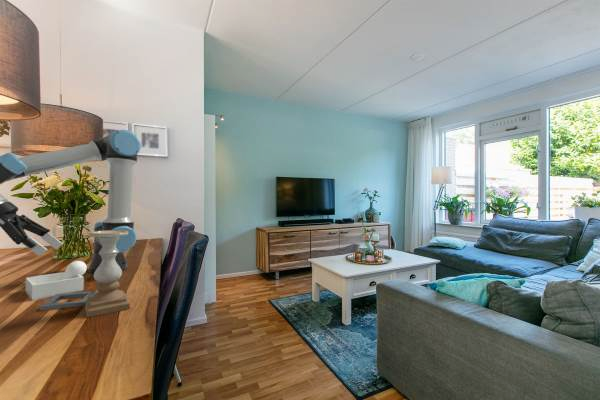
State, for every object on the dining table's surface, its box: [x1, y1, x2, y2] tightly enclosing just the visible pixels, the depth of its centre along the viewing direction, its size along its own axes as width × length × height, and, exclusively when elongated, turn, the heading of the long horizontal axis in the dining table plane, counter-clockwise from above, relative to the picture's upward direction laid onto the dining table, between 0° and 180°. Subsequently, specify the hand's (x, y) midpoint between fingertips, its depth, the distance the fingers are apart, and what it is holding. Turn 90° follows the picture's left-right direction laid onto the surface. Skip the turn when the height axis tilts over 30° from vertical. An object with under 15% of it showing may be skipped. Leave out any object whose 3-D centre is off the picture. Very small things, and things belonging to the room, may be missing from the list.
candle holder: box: [84, 230, 131, 318], centre depth 85 cm, size 11×11×24 cm
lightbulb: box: [57, 260, 88, 281], centre depth 102 cm, size 6×6×11 cm
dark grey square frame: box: [39, 290, 98, 311], centre depth 89 cm, size 12×12×1 cm
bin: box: [25, 271, 85, 302], centre depth 99 cm, size 14×14×5 cm
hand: (52, 249), depth 98 cm, fingers open, 13 cm apart
